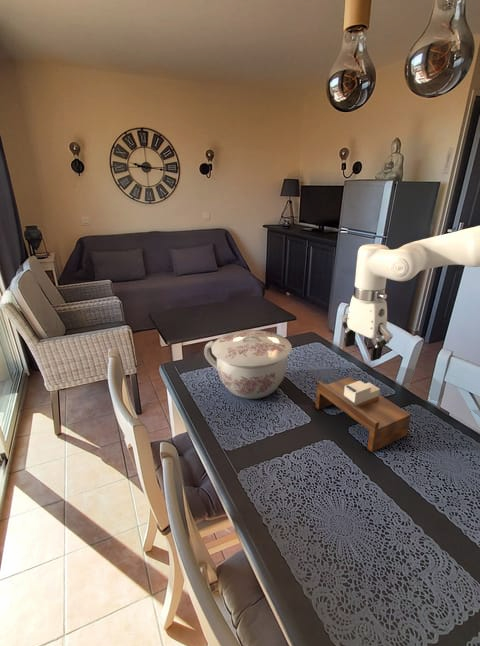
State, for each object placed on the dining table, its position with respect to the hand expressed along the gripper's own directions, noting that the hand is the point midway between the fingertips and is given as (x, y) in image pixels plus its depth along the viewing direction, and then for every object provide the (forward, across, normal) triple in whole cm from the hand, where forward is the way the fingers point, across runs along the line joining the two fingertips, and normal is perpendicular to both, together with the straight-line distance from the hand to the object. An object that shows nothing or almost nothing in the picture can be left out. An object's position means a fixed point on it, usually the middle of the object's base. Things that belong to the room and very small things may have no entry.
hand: (362, 352), depth 100 cm
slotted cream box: (+17, 0, -2) cm, 17 cm away
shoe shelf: (+24, 0, -2) cm, 24 cm away
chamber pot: (+24, +33, +17) cm, 44 cm away
